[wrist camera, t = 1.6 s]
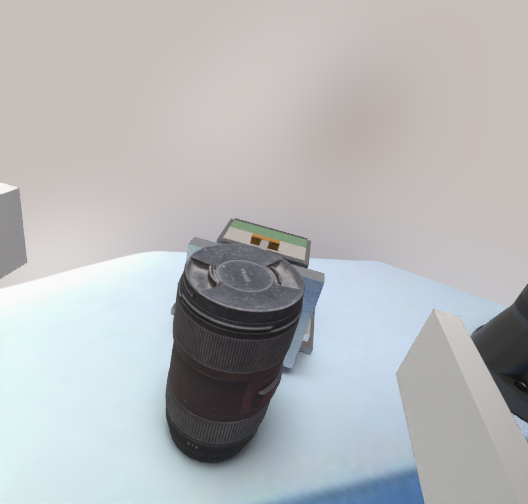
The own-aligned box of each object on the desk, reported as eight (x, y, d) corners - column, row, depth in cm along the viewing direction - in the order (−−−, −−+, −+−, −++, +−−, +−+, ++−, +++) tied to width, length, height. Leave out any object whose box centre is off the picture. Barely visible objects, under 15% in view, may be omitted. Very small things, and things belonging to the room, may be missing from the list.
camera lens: (239, 374, 34) (277, 239, 27) (273, 455, 28) (334, 308, 20) (153, 390, 30) (169, 239, 23) (169, 487, 24) (199, 322, 17)
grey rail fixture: (306, 299, 46) (331, 227, 41) (299, 370, 35) (332, 284, 30) (206, 270, 46) (219, 196, 41) (168, 332, 35) (180, 241, 30)
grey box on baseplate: (313, 301, 47) (335, 242, 43) (310, 354, 38) (337, 286, 34) (199, 269, 48) (210, 207, 43) (171, 313, 39) (180, 242, 35)
